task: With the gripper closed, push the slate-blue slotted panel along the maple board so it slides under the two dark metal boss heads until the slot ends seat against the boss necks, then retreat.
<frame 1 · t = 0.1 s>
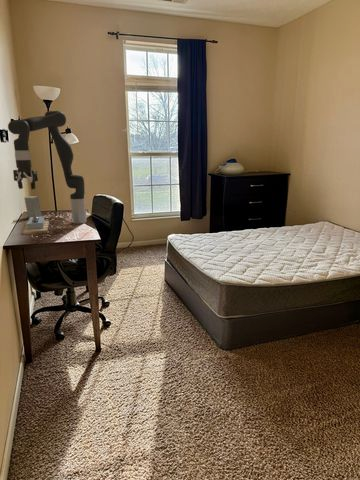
hand: (27, 188, 180), 29 cm above the table, fingers open, 8 cm apart
board: (36, 228, 213), on the table
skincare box: (34, 217, 246), on the table
bosses: (36, 222, 211), on the board, point 4 cm above the table
panel: (36, 222, 214), point 3 cm above the table, slide at 0.0 cm
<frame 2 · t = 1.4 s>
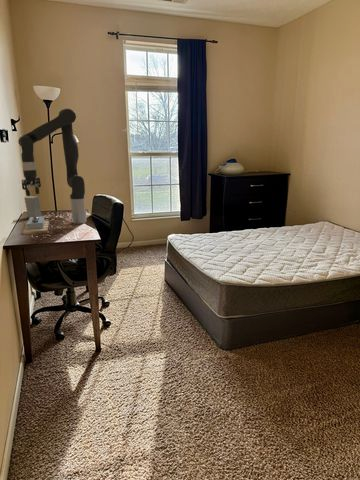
hand: (33, 195, 206), 22 cm above the table, fingers open, 8 cm apart
nothing on the table moved.
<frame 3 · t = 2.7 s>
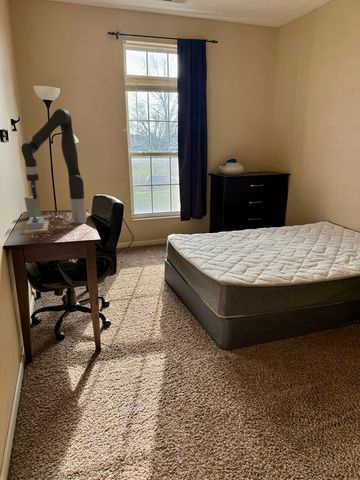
hand: (35, 198, 224), 17 cm above the table, fingers open, 4 cm apart
nothing on the table moved.
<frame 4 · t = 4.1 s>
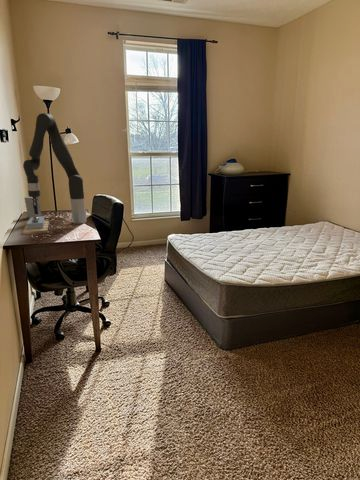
hand: (36, 214, 226), 6 cm above the table, fingers closed
nothing on the table moved.
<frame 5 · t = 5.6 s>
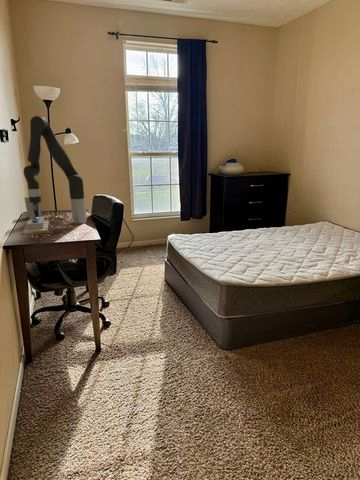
hand: (37, 220, 225), 2 cm above the table, fingers closed
panel: (36, 222, 213), point 3 cm above the table, slide at 0.7 cm, touching gripper
everything else where it was.
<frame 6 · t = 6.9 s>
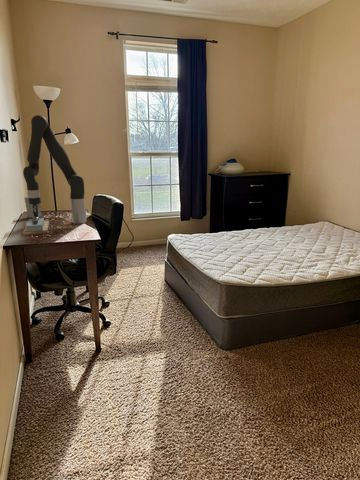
hand: (37, 221, 220), 2 cm above the table, fingers closed
panel: (35, 224, 208), point 3 cm above the table, slide at 6.0 cm, touching bosses, gripper
everything else where it was.
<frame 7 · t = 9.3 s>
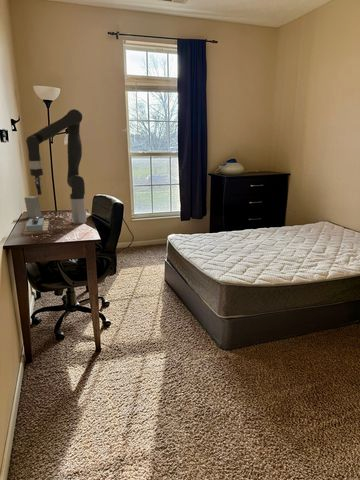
hand: (39, 194, 214), 21 cm above the table, fingers closed
panel: (35, 224, 208), point 3 cm above the table, slide at 6.0 cm, touching bosses
everything else where it was.
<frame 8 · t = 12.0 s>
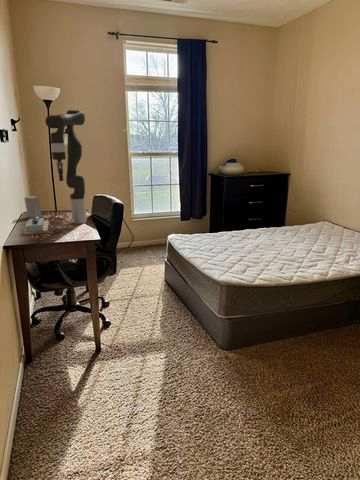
hand: (61, 180, 195), 32 cm above the table, fingers closed
nothing on the table moved.
at the end: panel slide at 6.0 cm; the gripper is holding nothing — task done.
